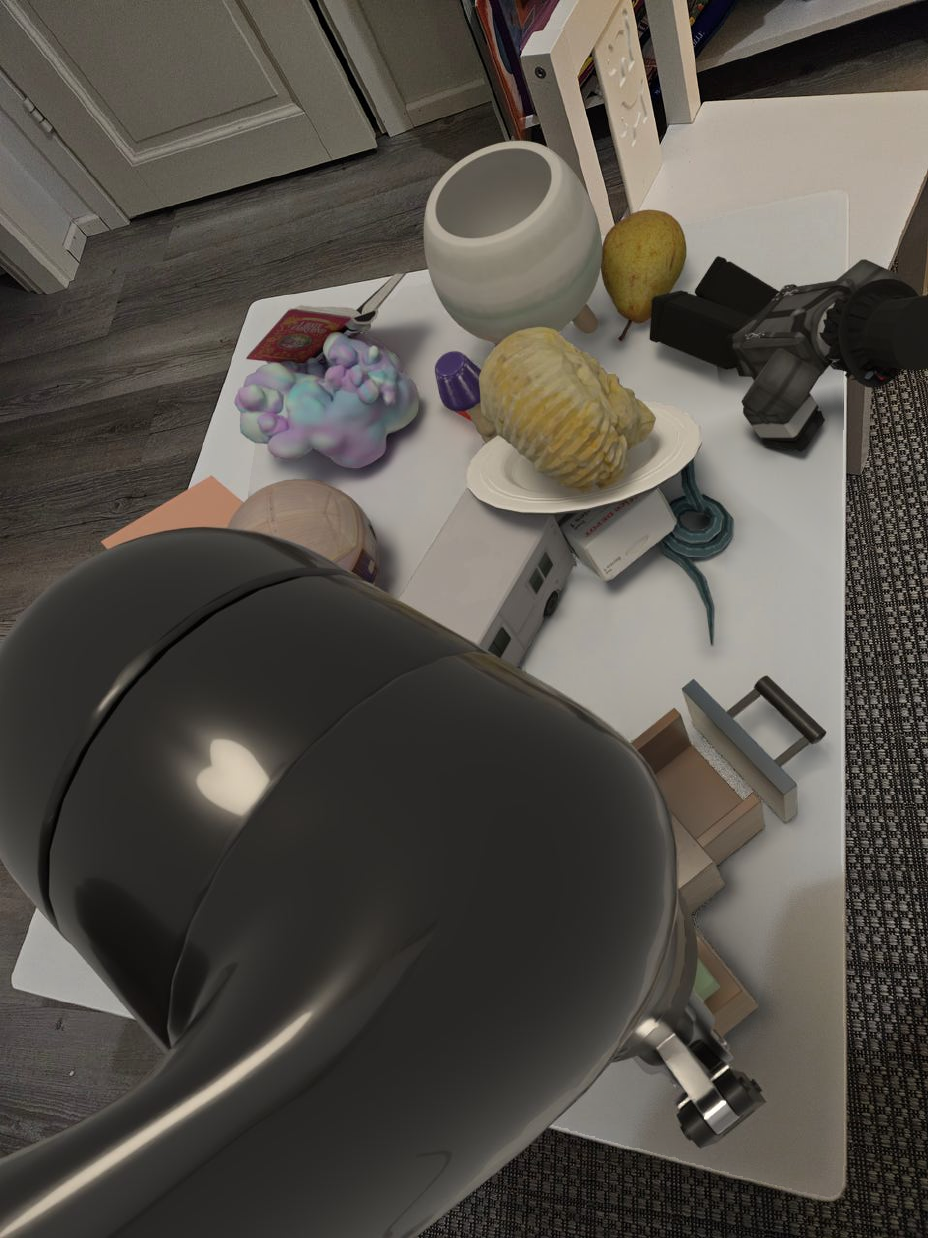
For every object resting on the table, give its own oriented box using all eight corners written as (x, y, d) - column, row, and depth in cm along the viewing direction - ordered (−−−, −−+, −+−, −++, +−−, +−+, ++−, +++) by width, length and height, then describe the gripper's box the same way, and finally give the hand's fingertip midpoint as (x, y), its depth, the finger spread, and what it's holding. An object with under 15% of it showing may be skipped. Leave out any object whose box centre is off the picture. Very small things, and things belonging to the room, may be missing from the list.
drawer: (750, 678, 72) (744, 636, 65) (846, 773, 67) (853, 738, 59) (615, 788, 72) (594, 759, 64) (701, 892, 66) (689, 872, 59)
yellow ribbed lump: (413, 406, 69) (546, 475, 60) (477, 280, 67) (625, 331, 58) (528, 473, 82) (651, 537, 73) (584, 368, 81) (718, 421, 71)
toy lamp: (502, 495, 89) (446, 392, 75) (474, 472, 92) (415, 367, 77) (536, 464, 89) (487, 355, 75) (508, 441, 92) (455, 331, 78)
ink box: (589, 439, 83) (662, 484, 74) (609, 475, 86) (681, 522, 77) (520, 497, 83) (584, 549, 74) (543, 531, 86) (607, 585, 77)
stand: (759, 1006, 63) (743, 990, 44) (694, 1059, 63) (651, 1065, 44) (702, 936, 66) (664, 893, 47) (641, 986, 66) (579, 963, 47)
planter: (625, 291, 95) (582, 103, 76) (631, 409, 88) (586, 235, 69) (484, 322, 100) (411, 153, 81) (480, 436, 93) (399, 281, 74)
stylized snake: (715, 448, 83) (709, 405, 78) (763, 635, 74) (760, 602, 68) (639, 467, 85) (629, 427, 80) (677, 652, 76) (668, 621, 70)
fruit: (693, 197, 86) (693, 319, 86) (676, 239, 95) (676, 348, 95) (605, 200, 86) (605, 321, 86) (596, 241, 95) (596, 350, 95)
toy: (645, 399, 93) (853, 508, 72) (616, 279, 84) (845, 365, 63) (765, 320, 95) (1000, 404, 75) (750, 195, 86) (1013, 251, 65)
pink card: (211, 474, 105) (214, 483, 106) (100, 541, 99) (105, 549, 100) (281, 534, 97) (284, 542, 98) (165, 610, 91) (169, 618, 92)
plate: (433, 480, 83) (427, 462, 82) (612, 399, 88) (609, 381, 87) (544, 560, 67) (540, 539, 66) (757, 455, 72) (756, 434, 71)
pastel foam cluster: (264, 513, 92) (264, 376, 78) (207, 384, 103) (198, 243, 89) (436, 478, 100) (464, 348, 86) (366, 362, 111) (381, 229, 97)
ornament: (249, 636, 92) (161, 570, 79) (312, 516, 96) (238, 436, 84) (363, 675, 86) (287, 610, 73) (426, 544, 90) (364, 462, 77)
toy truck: (378, 671, 85) (332, 630, 77) (512, 523, 87) (481, 466, 79) (469, 753, 78) (429, 717, 70) (611, 590, 80) (590, 536, 72)
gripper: (827, 1066, 23) (815, 1057, 37) (522, 696, 31) (606, 802, 45) (613, 1244, 23) (680, 1169, 37) (358, 830, 31) (493, 895, 45)
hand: (639, 968), depth 41 cm, fingers open, 8 cm apart
